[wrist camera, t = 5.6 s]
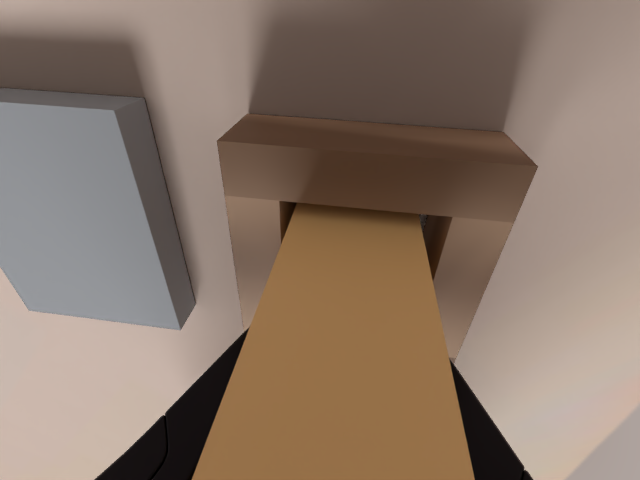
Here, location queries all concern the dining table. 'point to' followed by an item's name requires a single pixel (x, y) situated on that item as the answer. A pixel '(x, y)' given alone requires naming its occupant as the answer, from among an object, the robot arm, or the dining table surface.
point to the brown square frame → (376, 196)
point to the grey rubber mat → (88, 210)
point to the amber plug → (342, 362)
